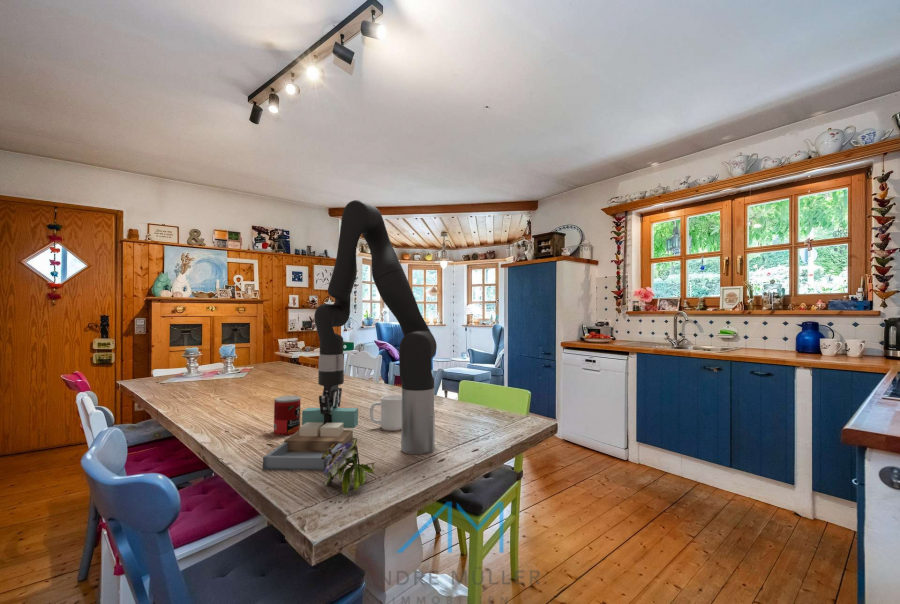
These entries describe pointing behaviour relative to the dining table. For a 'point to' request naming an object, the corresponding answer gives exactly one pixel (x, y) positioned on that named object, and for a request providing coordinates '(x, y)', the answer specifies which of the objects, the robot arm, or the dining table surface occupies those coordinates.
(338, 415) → the teal rectangular block
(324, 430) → the tile
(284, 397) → the canned food
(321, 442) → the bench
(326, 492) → the dining table surface
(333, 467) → the passion flower
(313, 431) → the tile
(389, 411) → the cup
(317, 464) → the tray
